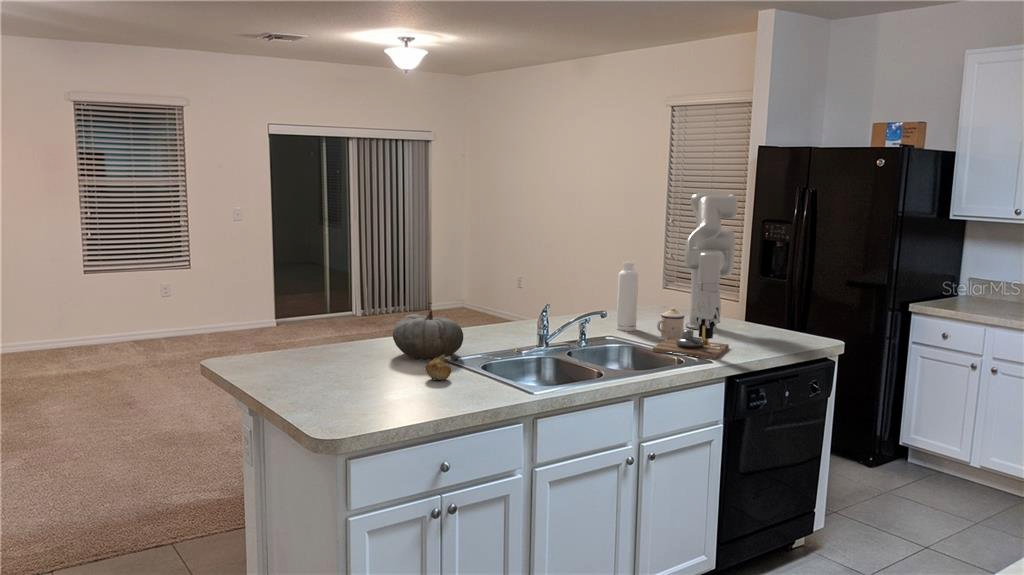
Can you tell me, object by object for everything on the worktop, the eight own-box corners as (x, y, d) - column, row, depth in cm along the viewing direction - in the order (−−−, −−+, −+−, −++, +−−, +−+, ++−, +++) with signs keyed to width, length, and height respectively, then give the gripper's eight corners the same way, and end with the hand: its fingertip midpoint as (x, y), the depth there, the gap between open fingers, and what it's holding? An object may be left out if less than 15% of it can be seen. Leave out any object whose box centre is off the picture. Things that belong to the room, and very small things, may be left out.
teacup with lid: (672, 333, 322) (674, 305, 320) (688, 338, 314) (689, 309, 313) (649, 336, 316) (650, 307, 314) (664, 341, 308) (666, 311, 307)
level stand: (668, 341, 308) (668, 336, 308) (728, 348, 298) (728, 343, 297) (652, 351, 291) (653, 346, 290) (715, 359, 280) (716, 354, 280)
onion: (427, 376, 253) (427, 351, 252) (452, 376, 253) (452, 352, 252) (424, 382, 246) (423, 357, 244) (449, 383, 245) (449, 358, 244)
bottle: (616, 326, 334) (618, 260, 330) (635, 327, 333) (638, 261, 329) (616, 330, 326) (618, 263, 322) (636, 331, 325) (638, 263, 321)
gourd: (406, 361, 261) (408, 308, 261) (379, 357, 282) (380, 308, 283) (474, 360, 273) (475, 310, 274) (443, 357, 295) (444, 310, 296)
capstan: (670, 343, 296) (671, 319, 294) (692, 340, 300) (693, 317, 298) (695, 351, 282) (696, 327, 281) (717, 349, 287) (719, 325, 285)
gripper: (685, 284, 287) (682, 334, 290) (716, 290, 273) (713, 343, 276) (700, 283, 291) (698, 332, 294) (732, 289, 277) (729, 341, 280)
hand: (705, 337), depth 285 cm, fingers closed on capstan, 2 cm apart
